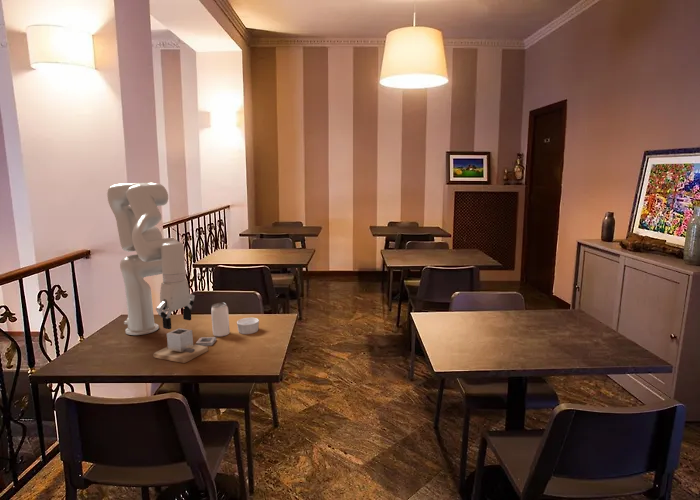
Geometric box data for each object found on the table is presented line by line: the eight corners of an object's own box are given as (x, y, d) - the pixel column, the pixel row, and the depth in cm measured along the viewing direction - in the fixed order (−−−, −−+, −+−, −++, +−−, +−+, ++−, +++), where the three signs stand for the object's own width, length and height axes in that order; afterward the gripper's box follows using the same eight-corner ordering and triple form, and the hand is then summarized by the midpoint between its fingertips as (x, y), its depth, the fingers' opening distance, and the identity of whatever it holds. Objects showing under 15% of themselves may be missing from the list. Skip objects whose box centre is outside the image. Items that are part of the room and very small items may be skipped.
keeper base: (153, 357, 167) (151, 334, 166) (178, 345, 178) (176, 323, 177) (184, 363, 162) (182, 339, 160) (208, 350, 173) (206, 328, 171)
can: (225, 337, 186) (223, 307, 184) (209, 336, 187) (207, 307, 185) (232, 331, 192) (230, 303, 190) (217, 331, 194) (215, 302, 191)
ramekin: (257, 334, 188) (256, 324, 188) (234, 335, 189) (234, 324, 188) (261, 327, 197) (261, 317, 196) (240, 327, 197) (239, 317, 197)
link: (168, 349, 168) (166, 333, 167) (180, 343, 174) (178, 328, 172) (181, 351, 166) (179, 335, 165) (193, 345, 171) (191, 329, 170)
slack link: (196, 346, 177) (195, 342, 177) (200, 340, 183) (200, 337, 183) (212, 345, 177) (211, 342, 177) (216, 339, 183) (216, 336, 183)
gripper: (183, 270, 175) (186, 315, 178) (146, 282, 159) (150, 330, 163) (200, 272, 172) (202, 318, 175) (163, 284, 156) (167, 333, 160)
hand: (177, 324), depth 169 cm, fingers open, 9 cm apart
